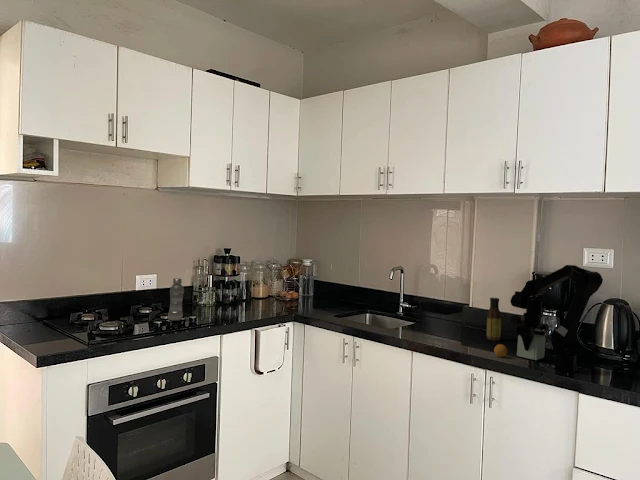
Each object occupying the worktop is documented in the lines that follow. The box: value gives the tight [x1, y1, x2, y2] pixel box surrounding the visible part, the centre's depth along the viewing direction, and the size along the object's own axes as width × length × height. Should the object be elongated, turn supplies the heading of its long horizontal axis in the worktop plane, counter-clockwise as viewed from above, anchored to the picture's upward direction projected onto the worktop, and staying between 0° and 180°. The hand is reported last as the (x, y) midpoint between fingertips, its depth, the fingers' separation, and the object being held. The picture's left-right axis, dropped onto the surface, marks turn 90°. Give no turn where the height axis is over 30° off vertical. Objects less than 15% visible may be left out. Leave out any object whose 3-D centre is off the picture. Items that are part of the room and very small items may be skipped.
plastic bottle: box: [167, 277, 185, 322], centre depth 234 cm, size 6×7×20 cm
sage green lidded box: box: [516, 334, 546, 361], centre depth 202 cm, size 8×8×9 cm
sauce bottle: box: [486, 297, 502, 342], centre depth 233 cm, size 6×6×20 cm
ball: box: [493, 343, 508, 358], centre depth 201 cm, size 5×5×5 cm
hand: (531, 349), depth 202 cm, fingers closed on sage green lidded box, 8 cm apart
